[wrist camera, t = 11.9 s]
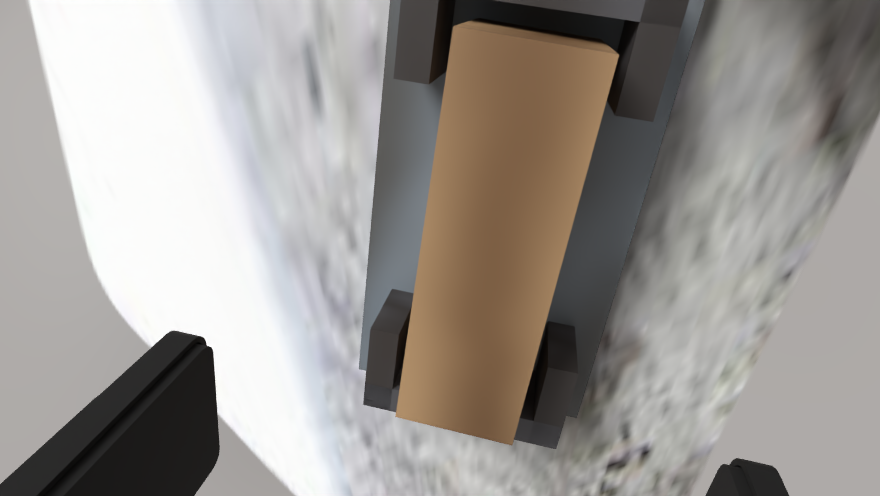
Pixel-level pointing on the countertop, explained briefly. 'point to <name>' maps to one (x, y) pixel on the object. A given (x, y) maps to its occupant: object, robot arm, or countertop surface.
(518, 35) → the tan brown block
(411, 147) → the dark grey holder
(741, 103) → the countertop surface
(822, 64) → the countertop surface
